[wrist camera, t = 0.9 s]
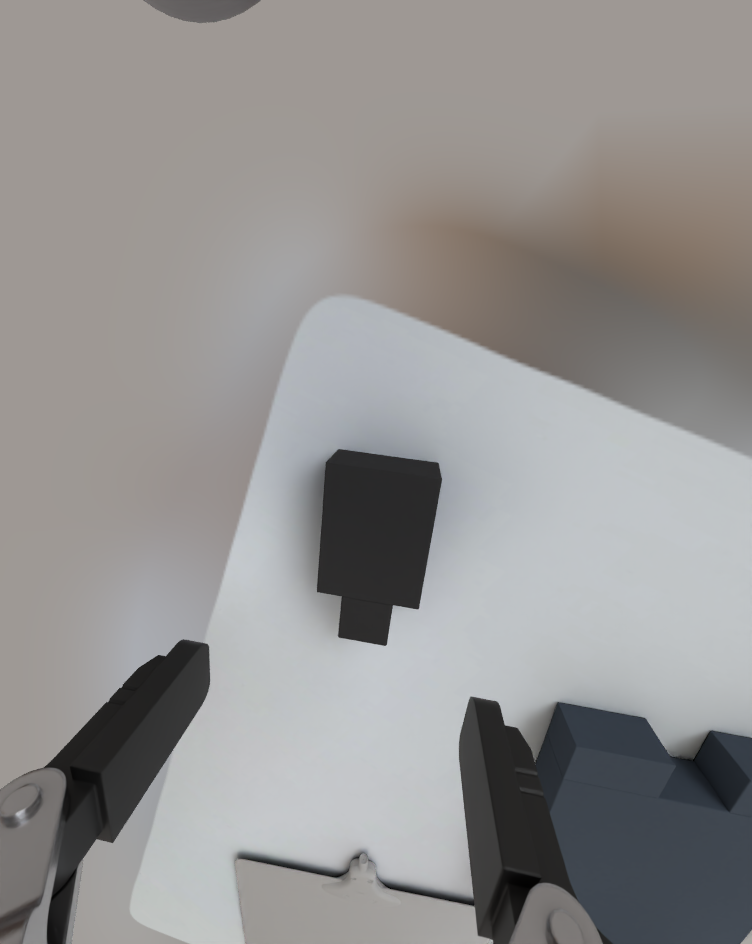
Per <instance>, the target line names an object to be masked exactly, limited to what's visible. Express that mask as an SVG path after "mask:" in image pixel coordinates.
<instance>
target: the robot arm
mask: <svg viewBox="0 0 752 944" xmlns="http://www.w3.org/2000/svg"><path fill="white" fill-rule="evenodd" d="M209 685H210V663H209V646H208V644H205V643H200V642H194V641H189V640H181V641H179V642H178V643H177V644H176V645H175V647H174V648H173V649H172V650H171V651H170V652H169V653H168V655H167V656H161V655H158V656H156V657H155V658H153V659H151V660H150V661H149V662H147V663H146V664H144V665H142V666H141V667H139V668H138V669H137V670H136V671H135V672H134V673H133V674H132V676H131V677H130V678H129V679H128V680H127V681H126V682H125V683H124V684H123V687H122V688H119V689H118V690H117V692H116V693H115V694H114V695H113V696H112V697H111V698H110V700H109V702H106V703H105V704H104V705H103V706H102V708H101V709H100V710H99V711H98V712H97V713H96V714H95V715H94V716H93V717H92V718H91V719H90V720H89V721H88V723H87V724H86V725H85V726H84V727H83V728H82V729H81V730H80V731H79V732H78V733H77V734H76V735H75V736H74V737H73V739H72V740H71V741H70V742H69V743H68V744H67V745H66V746H65V747H64V748H63V749H62V750H61V751H60V752H59V753H58V754H57V756H56V757H55V758H54V759H53V760H52V761H51V762H50V763H49V764H48V765H46V766H45V767H44V768H41V769H37V770H33V771H31V772H28V773H26V774H24V775H22V776H20V777H18V778H16V779H15V780H13V781H12V782H10V783H8V784H7V785H6V786H4V787H3V788H2V789H0V944H71V942H72V936H73V928H74V922H75V915H76V909H77V901H78V895H79V888H80V881H81V874H82V867H83V858H84V856H85V855H86V853H87V852H88V850H89V849H90V848H91V846H92V845H93V843H94V842H95V840H96V839H99V840H103V841H107V842H111V843H113V842H114V840H115V839H116V837H117V836H118V834H119V833H120V831H121V829H122V828H123V826H124V824H125V823H126V822H127V820H128V819H129V817H130V816H131V814H132V813H133V811H134V809H135V808H136V806H137V805H138V803H139V802H140V800H141V799H142V797H143V795H144V794H145V792H146V791H147V789H148V788H149V786H150V785H151V783H152V782H153V780H154V778H155V777H156V775H157V774H158V772H159V770H160V769H161V767H162V766H163V764H164V763H165V761H166V760H167V758H168V757H169V755H170V754H171V752H172V751H173V749H174V747H175V746H176V744H177V743H178V741H179V740H180V738H181V737H182V735H183V733H184V732H185V730H186V729H187V727H188V726H189V724H190V723H191V721H192V720H193V718H194V716H195V715H196V713H197V712H198V710H199V709H200V707H201V706H202V704H203V702H204V700H205V698H206V695H207V693H208V689H209ZM459 762H460V771H461V781H462V790H463V800H464V810H465V819H466V829H467V838H468V848H469V857H470V867H471V876H472V886H473V895H474V905H475V914H476V924H477V933H478V936H480V937H484V938H488V939H492V940H493V944H613V943H612V942H611V941H610V940H608V939H607V938H606V937H605V936H604V935H603V934H602V933H601V932H600V930H599V929H598V928H597V927H596V926H595V925H594V923H593V921H592V920H591V918H590V916H589V915H588V913H587V912H586V911H585V909H584V908H583V907H582V905H581V904H580V902H579V901H578V899H577V897H576V895H575V892H574V890H573V888H572V885H571V882H570V880H569V876H568V873H567V870H566V866H565V863H564V860H563V856H562V853H561V849H560V846H559V843H558V839H557V836H556V833H555V829H554V826H553V822H552V819H551V816H550V812H549V809H548V806H547V802H546V799H545V798H544V795H543V794H544V792H543V789H542V785H541V782H540V779H539V777H538V772H537V768H536V765H535V762H534V758H533V755H532V752H531V749H530V747H529V746H528V744H527V742H526V741H525V739H524V738H523V736H522V735H521V733H520V731H519V730H518V728H515V727H510V726H505V725H504V721H503V717H502V713H501V709H500V706H499V703H498V702H496V701H491V700H486V699H481V698H476V697H470V699H469V702H468V706H467V710H466V714H465V718H464V722H463V725H462V729H461V733H460V740H459Z"/></svg>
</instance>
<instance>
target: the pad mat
mask: <svg viewBox="0 0 752 944" xmlns="http://www.w3.org/2000/svg"><path fill="white" fill-rule="evenodd" d="M535 765H536V768H537V772H538V777H539V779H540V782H541V785H542V789H543V792H544V794H543V795H544V798H545V799H546V802H547V806H548V809H549V812H550V816H551V819H552V822H553V826H554V829H555V833H556V836H557V839H558V843H559V846H560V849H561V853H562V856H563V860H564V863H565V866H566V870H567V873H568V876H569V880H570V882H571V885H572V888H573V890H574V892H575V895H576V897H577V899H578V901H579V902H580V904H581V905H582V907H583V908H584V909H585V911H586V912H587V913H588V915H589V916H590V918H591V920H592V921H593V923H594V925H595V926H596V927H597V928H598V929H599V930H600V932H601V933H602V934H603V935H604V936H605V937H606V938H607V939H608V940H610V941H611V942H612V943H613V944H740V943H741V942H742V941H743V940H744V939H745V937H746V936H747V935H748V934H749V932H750V931H751V930H752V738H747V737H741V736H736V735H731V734H725V733H720V732H715V731H711V732H710V733H709V735H708V737H707V739H706V741H705V742H704V744H703V746H702V748H701V749H700V751H699V753H698V755H697V756H696V758H695V760H694V761H689V760H684V759H679V758H674V757H670V756H669V754H668V753H667V751H666V750H665V748H664V746H663V745H662V743H661V742H660V740H659V739H658V737H657V736H656V734H655V732H654V731H653V729H652V728H651V726H650V725H649V723H648V722H647V720H646V719H645V718H640V717H634V716H629V715H624V714H618V713H613V712H608V711H602V710H597V709H592V708H586V707H581V706H575V705H570V704H565V703H559V702H558V704H557V707H556V709H555V712H554V715H553V718H552V720H551V723H550V726H549V729H548V731H547V735H546V737H545V740H544V743H543V745H542V748H541V751H540V754H539V756H538V759H537V762H536V764H535Z"/></svg>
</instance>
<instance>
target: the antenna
mask: <svg viewBox="0 0 752 944" xmlns="http://www.w3.org/2000/svg"><path fill="white" fill-rule="evenodd" d="M235 869H236V877H237V884H238V892H239V899H240V907H241V914H242V922H243V929H244V937H245V944H489V941H490V939H488V938H484V937H480V936H478V933H477V924H476V914H475V906H471V905H466V904H461V903H457V902H452V901H447V900H442V899H437V898H432V897H427V896H422V895H417V894H412V893H407V892H403V891H398V890H393V889H388V888H387V887H385V886H384V885H383V884H382V883H381V882H380V881H379V879H378V878H377V876H376V866H375V864H374V863H373V862H371V861H369V860H368V857H367V855H366V854H361V855H360V857H359V859H358V858H357V859H353V860H352V861H351V864H350V868H349V871H348V872H347V873H346V874H344V875H343V876H340V877H338V878H334V877H329V876H324V875H319V874H314V873H309V872H304V871H300V870H295V869H290V868H285V867H280V866H275V865H270V864H265V863H260V862H255V861H250V860H246V859H236V860H235Z"/></svg>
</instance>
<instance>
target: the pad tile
mask: <svg viewBox="0 0 752 944" xmlns="http://www.w3.org/2000/svg"><path fill="white" fill-rule="evenodd" d="M441 482H442V478H441V473H440V468H439V463H434V462H427V461H420V460H413V459H405V458H398V457H391V456H384V455H376V454H369V453H362V452H355V451H348V450H340V449H339V450H338V451H337V452H336V453H335V454H334V455H333V456H332V457H331V458H330V459H329V460H328V461H327V462H326V469H325V483H324V498H323V512H322V526H321V541H320V555H319V570H318V584H317V592H320V593H326V594H332V595H337V596H342V601H341V611H340V622H339V632H338V637H340V638H345V639H351V640H356V641H362V642H367V643H373V644H378V645H384V646H386V645H387V639H388V633H389V626H390V619H391V613H392V606H393V605H396V606H402V607H407V608H413V609H419V604H420V598H421V593H422V587H423V582H424V576H425V571H426V565H427V560H428V554H429V548H430V543H431V537H432V532H433V526H434V521H435V515H436V510H437V504H438V498H439V493H440V487H441Z"/></svg>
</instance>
